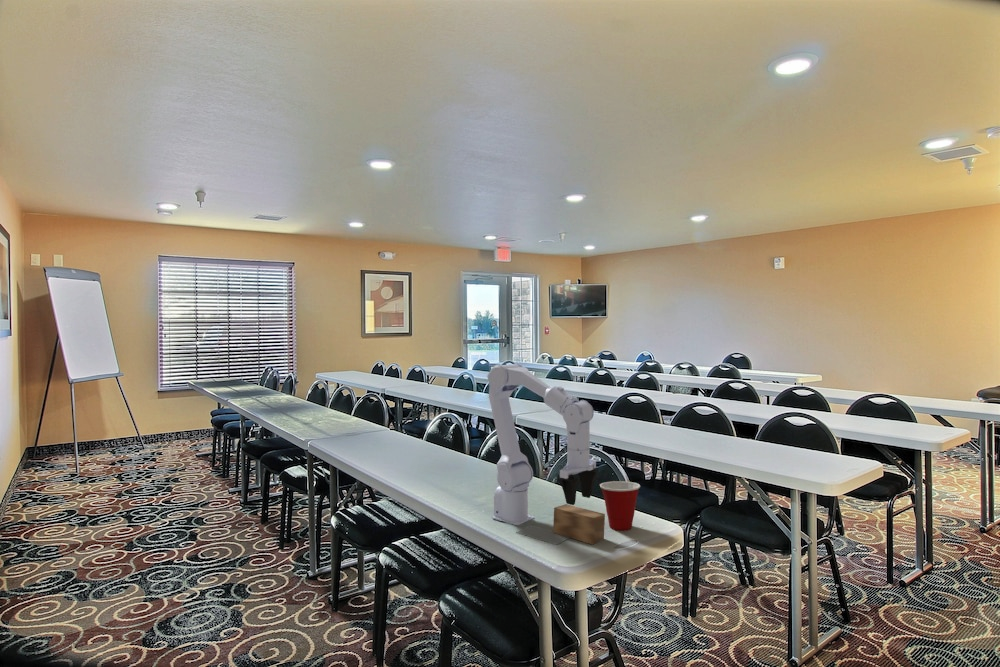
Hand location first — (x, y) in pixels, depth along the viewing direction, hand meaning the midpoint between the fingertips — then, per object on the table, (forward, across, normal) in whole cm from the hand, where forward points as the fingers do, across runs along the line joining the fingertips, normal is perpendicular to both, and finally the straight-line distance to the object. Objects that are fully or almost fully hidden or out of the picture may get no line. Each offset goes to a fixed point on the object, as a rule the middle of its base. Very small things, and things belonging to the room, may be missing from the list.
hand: (578, 500), depth 144 cm
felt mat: (+10, -5, +8) cm, 13 cm away
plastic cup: (+10, +13, -5) cm, 17 cm away
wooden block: (+9, 0, 0) cm, 9 cm away
